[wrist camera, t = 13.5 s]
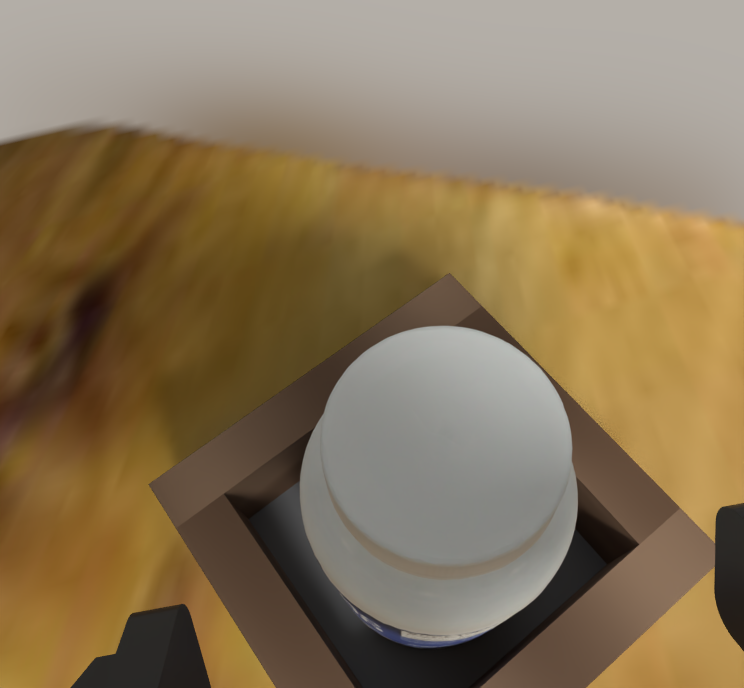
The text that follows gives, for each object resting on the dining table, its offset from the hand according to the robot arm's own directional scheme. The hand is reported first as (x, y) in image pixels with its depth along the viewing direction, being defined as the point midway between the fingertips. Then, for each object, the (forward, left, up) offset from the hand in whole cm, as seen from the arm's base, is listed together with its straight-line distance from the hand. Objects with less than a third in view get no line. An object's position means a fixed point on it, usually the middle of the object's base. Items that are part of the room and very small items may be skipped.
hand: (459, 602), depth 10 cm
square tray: (+1, +2, -10) cm, 10 cm away
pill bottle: (+1, +2, -9) cm, 10 cm away
